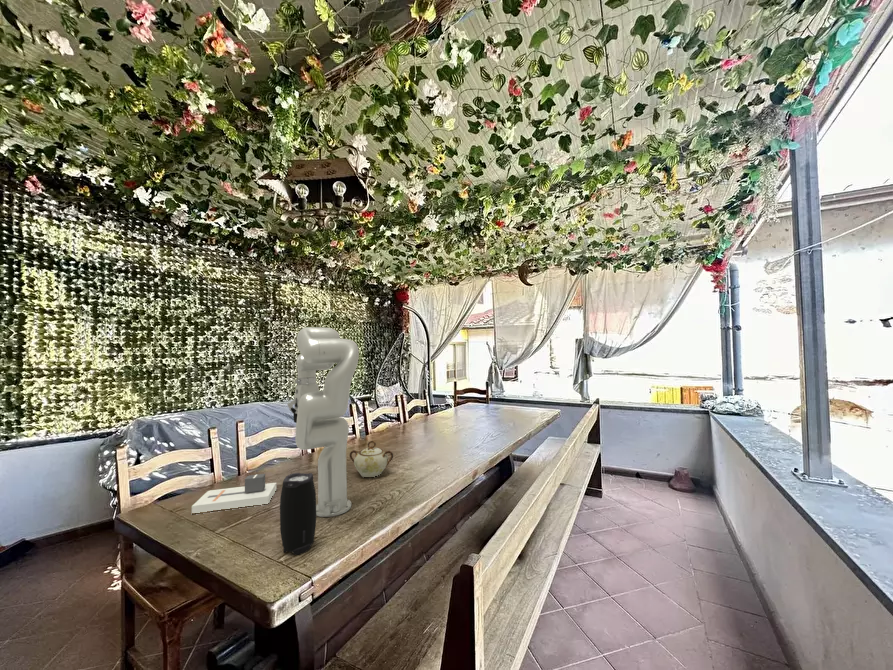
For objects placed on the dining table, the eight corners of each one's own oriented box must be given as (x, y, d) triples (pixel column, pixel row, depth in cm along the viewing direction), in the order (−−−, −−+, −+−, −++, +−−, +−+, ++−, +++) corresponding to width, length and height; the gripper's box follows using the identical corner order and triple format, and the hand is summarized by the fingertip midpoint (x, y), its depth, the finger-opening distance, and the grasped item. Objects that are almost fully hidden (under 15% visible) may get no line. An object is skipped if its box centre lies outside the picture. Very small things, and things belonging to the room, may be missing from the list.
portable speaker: (282, 543, 97) (281, 474, 98) (316, 536, 100) (316, 469, 101) (278, 560, 89) (278, 484, 90) (316, 552, 92) (315, 478, 93)
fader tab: (262, 490, 127) (262, 476, 128) (244, 493, 126) (244, 479, 126) (265, 486, 131) (265, 473, 131) (247, 488, 130) (248, 475, 130)
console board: (268, 504, 123) (268, 495, 123) (191, 515, 117) (191, 505, 117) (276, 490, 137) (276, 482, 137) (208, 498, 130) (208, 490, 130)
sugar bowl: (396, 468, 158) (396, 436, 158) (389, 481, 143) (388, 445, 144) (355, 469, 159) (355, 437, 160) (343, 481, 144) (343, 445, 145)
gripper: (292, 383, 141) (292, 425, 140) (328, 380, 155) (329, 418, 154) (283, 383, 145) (283, 423, 144) (319, 380, 159) (319, 416, 158)
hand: (307, 420), depth 149 cm, fingers open, 9 cm apart
